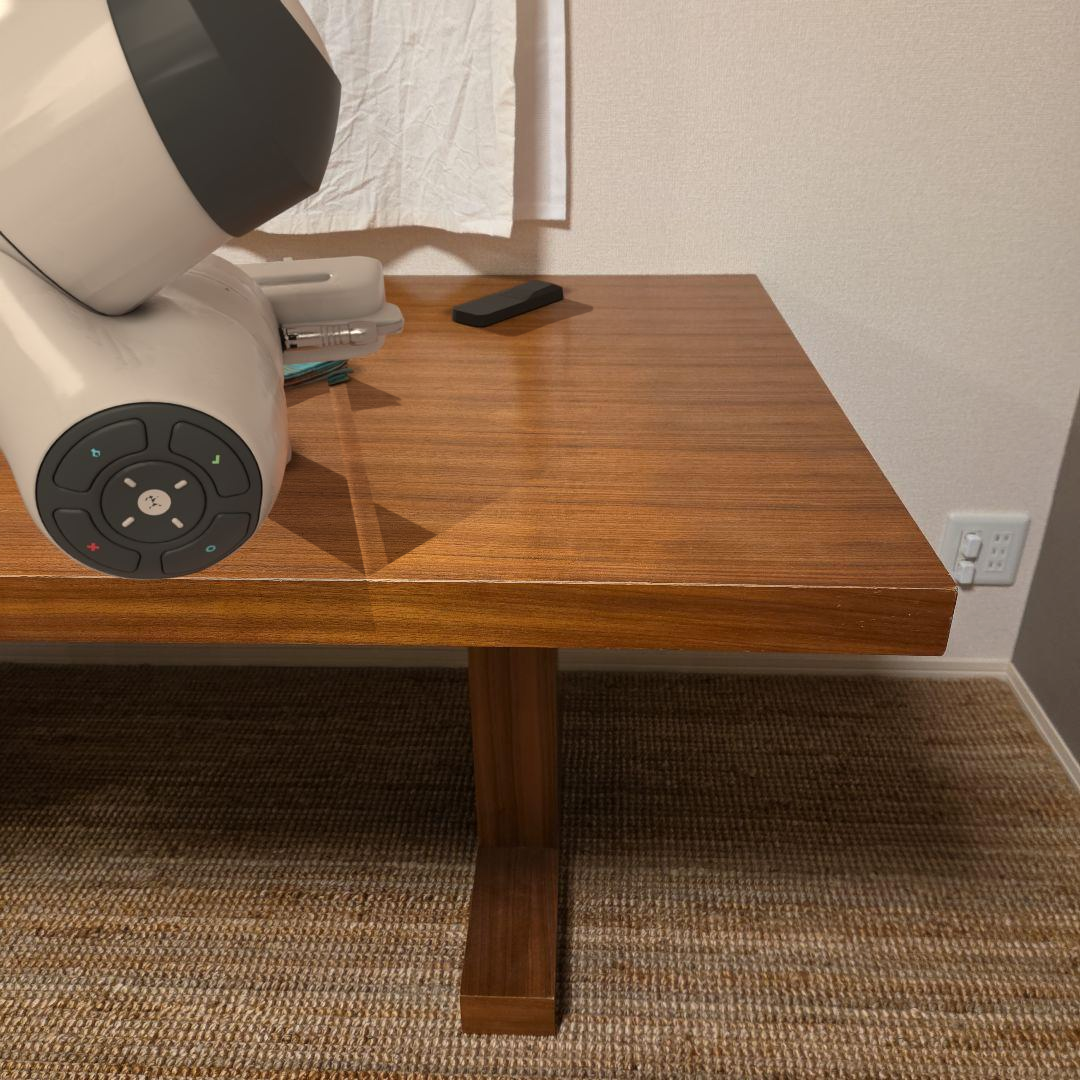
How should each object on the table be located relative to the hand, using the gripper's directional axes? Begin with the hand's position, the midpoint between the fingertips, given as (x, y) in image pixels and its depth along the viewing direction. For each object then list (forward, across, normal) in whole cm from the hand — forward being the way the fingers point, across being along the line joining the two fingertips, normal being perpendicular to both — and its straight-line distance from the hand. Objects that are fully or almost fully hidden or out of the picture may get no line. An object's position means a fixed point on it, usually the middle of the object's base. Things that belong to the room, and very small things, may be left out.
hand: (197, 277), depth 58 cm
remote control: (+49, -29, +18) cm, 60 cm away
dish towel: (+36, +3, +18) cm, 40 cm away
